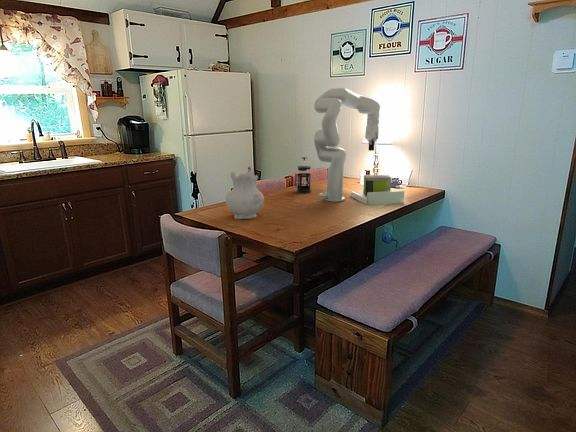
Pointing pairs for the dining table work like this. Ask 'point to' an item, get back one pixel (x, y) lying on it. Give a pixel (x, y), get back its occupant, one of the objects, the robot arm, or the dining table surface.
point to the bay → (380, 197)
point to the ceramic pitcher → (245, 196)
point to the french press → (303, 188)
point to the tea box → (376, 183)
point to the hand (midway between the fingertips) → (371, 150)
